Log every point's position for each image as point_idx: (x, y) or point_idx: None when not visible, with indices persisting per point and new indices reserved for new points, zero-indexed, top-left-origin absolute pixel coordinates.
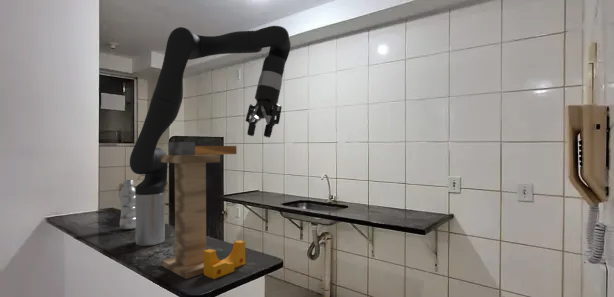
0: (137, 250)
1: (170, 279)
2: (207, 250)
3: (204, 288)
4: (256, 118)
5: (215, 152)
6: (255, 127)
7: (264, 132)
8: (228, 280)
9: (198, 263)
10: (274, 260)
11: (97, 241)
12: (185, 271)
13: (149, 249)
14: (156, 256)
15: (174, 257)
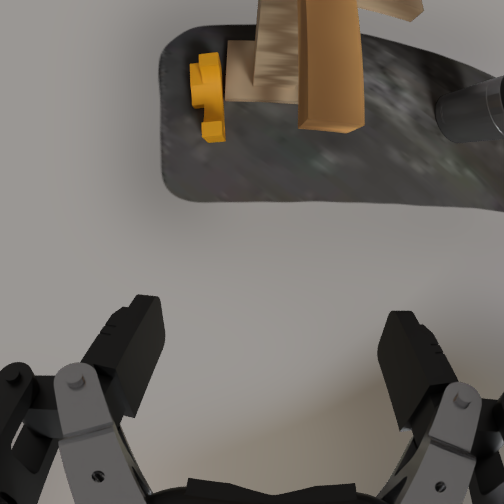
0: (425, 77)
1: (247, 30)
2: (213, 57)
3: (175, 47)
4: (396, 479)
5: (299, 2)
6: (395, 415)
7: (144, 310)
8: (170, 82)
9: (253, 71)
10: (179, 191)
11: None
12: (235, 42)
13: (418, 90)
14: (372, 71)
15: None
